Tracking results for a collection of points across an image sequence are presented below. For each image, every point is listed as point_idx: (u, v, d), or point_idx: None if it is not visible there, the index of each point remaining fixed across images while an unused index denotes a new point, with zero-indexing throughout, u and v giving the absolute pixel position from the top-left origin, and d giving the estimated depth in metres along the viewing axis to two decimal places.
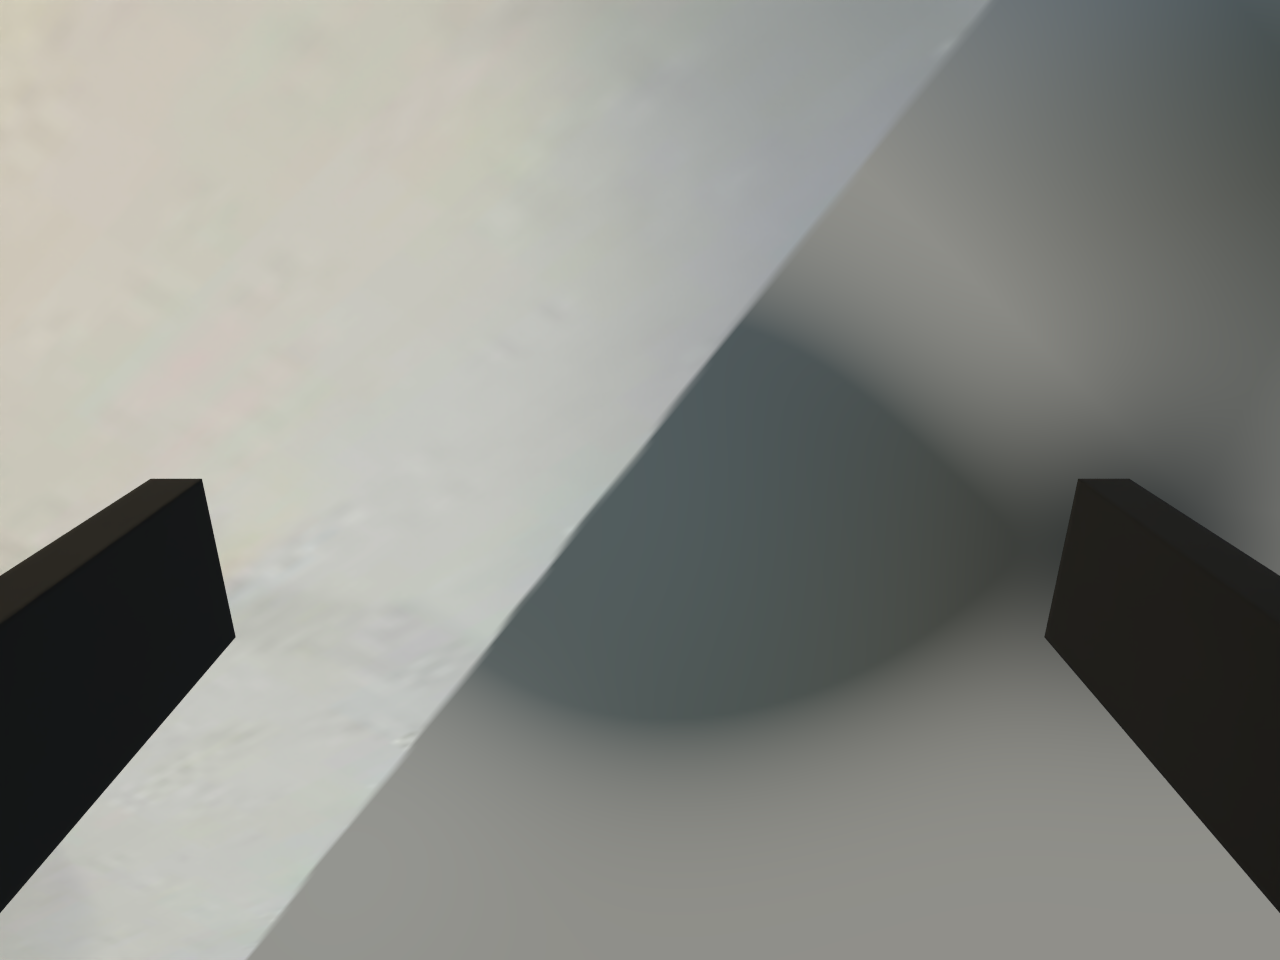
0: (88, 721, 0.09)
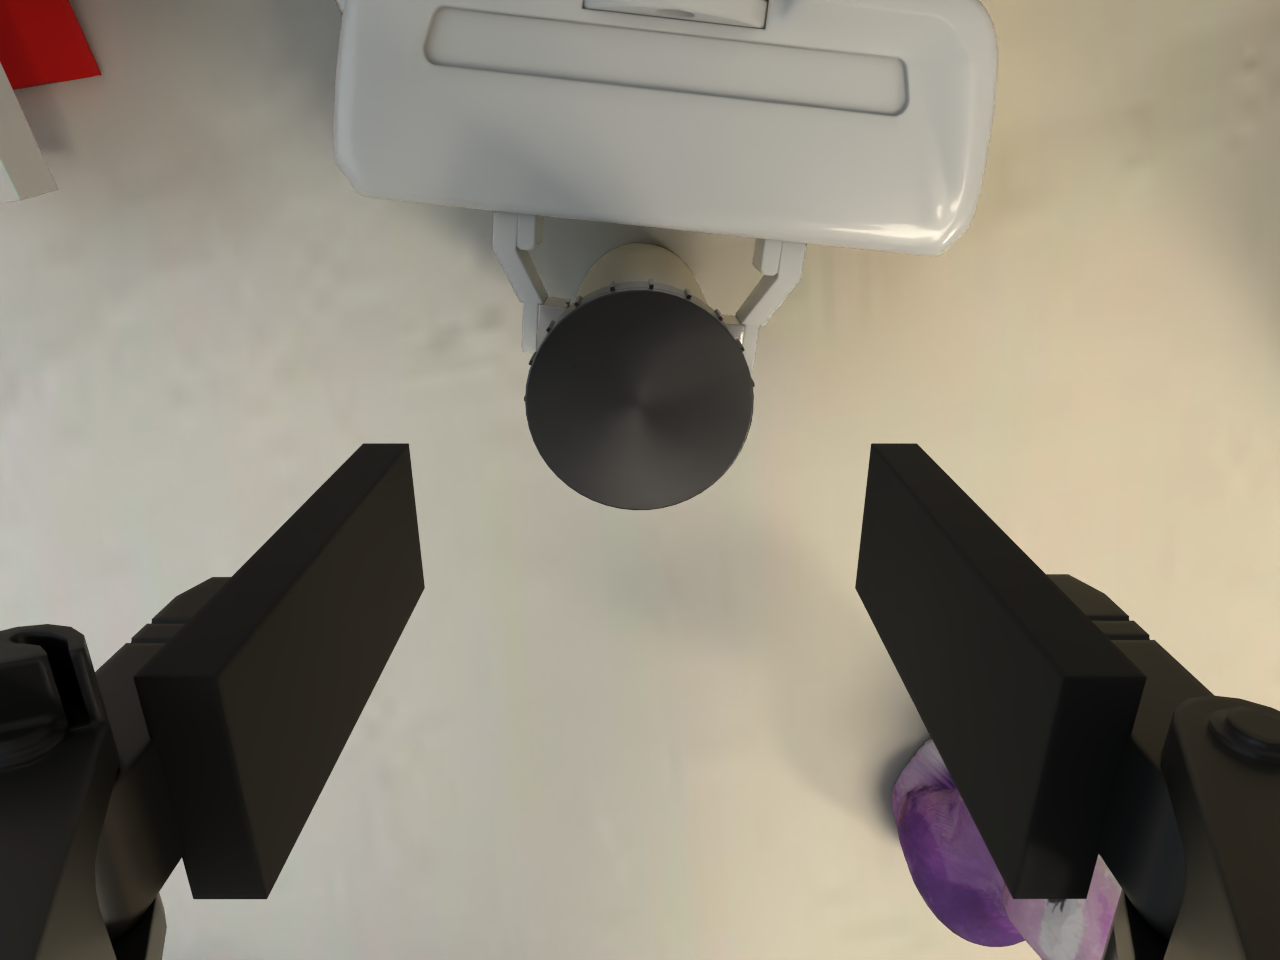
0: (357, 645, 0.11)
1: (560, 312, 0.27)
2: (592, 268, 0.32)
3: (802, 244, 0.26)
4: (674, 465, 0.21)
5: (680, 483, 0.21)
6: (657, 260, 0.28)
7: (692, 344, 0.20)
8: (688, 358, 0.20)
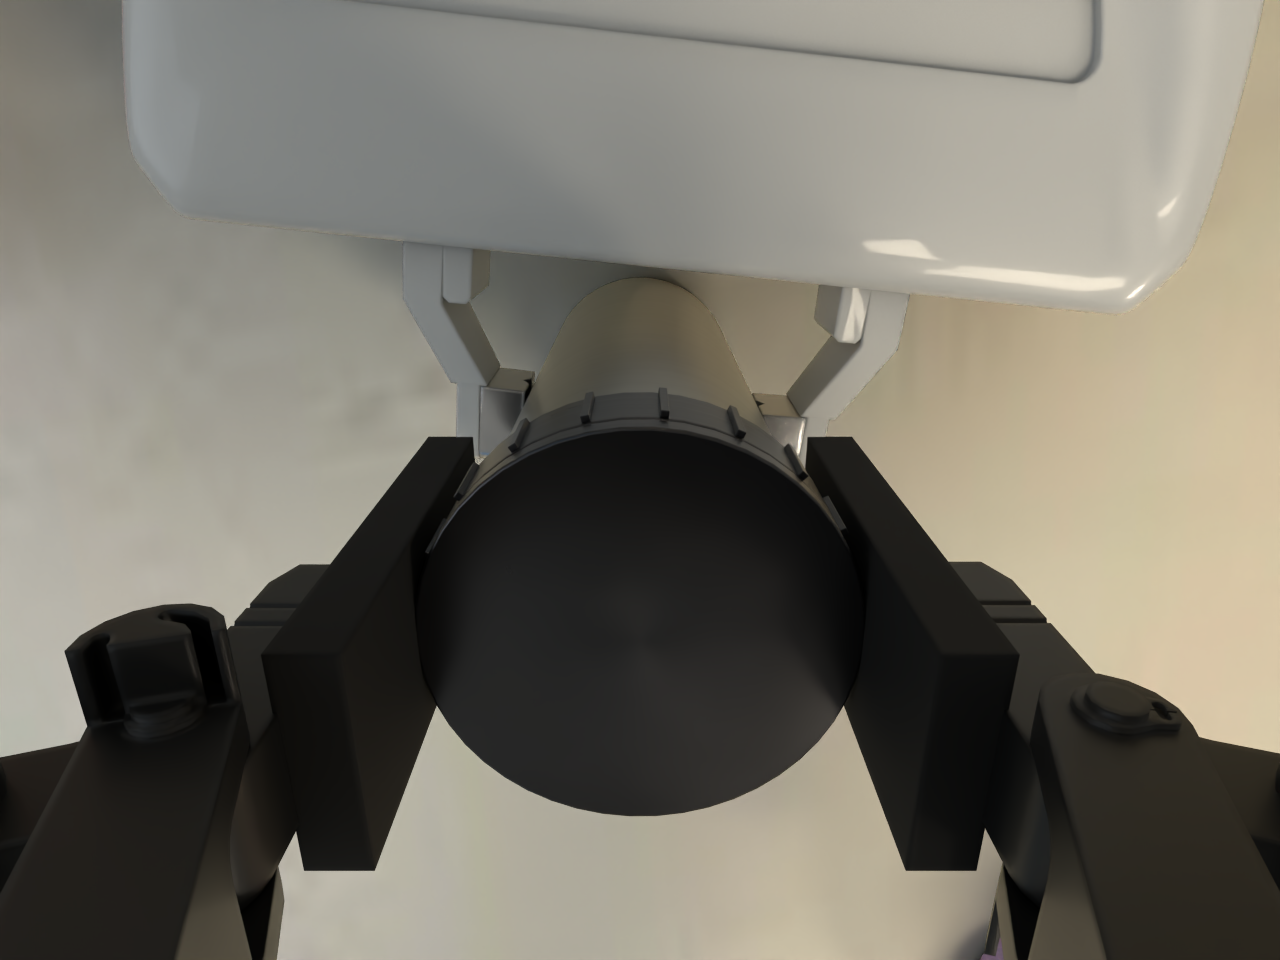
0: None
1: (515, 398, 0.17)
2: (571, 317, 0.22)
3: (903, 294, 0.16)
4: (707, 744, 0.11)
5: (718, 773, 0.11)
6: (668, 314, 0.18)
7: (748, 531, 0.10)
8: (739, 557, 0.10)
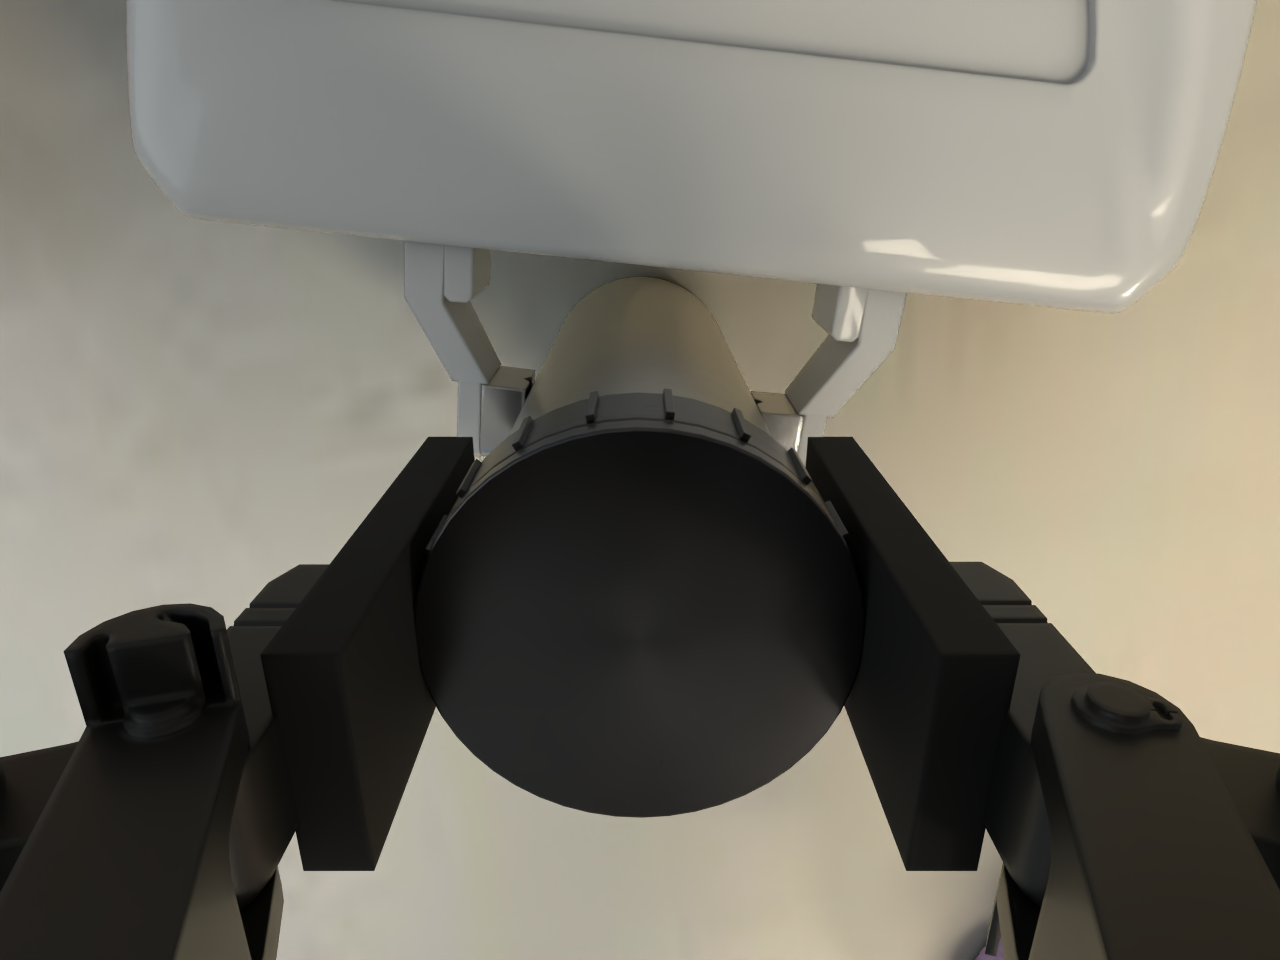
0: None
1: (516, 397, 0.17)
2: (571, 316, 0.22)
3: (899, 293, 0.16)
4: (689, 519, 0.10)
5: (713, 484, 0.09)
6: (667, 313, 0.18)
7: (480, 646, 0.10)
8: (504, 636, 0.10)
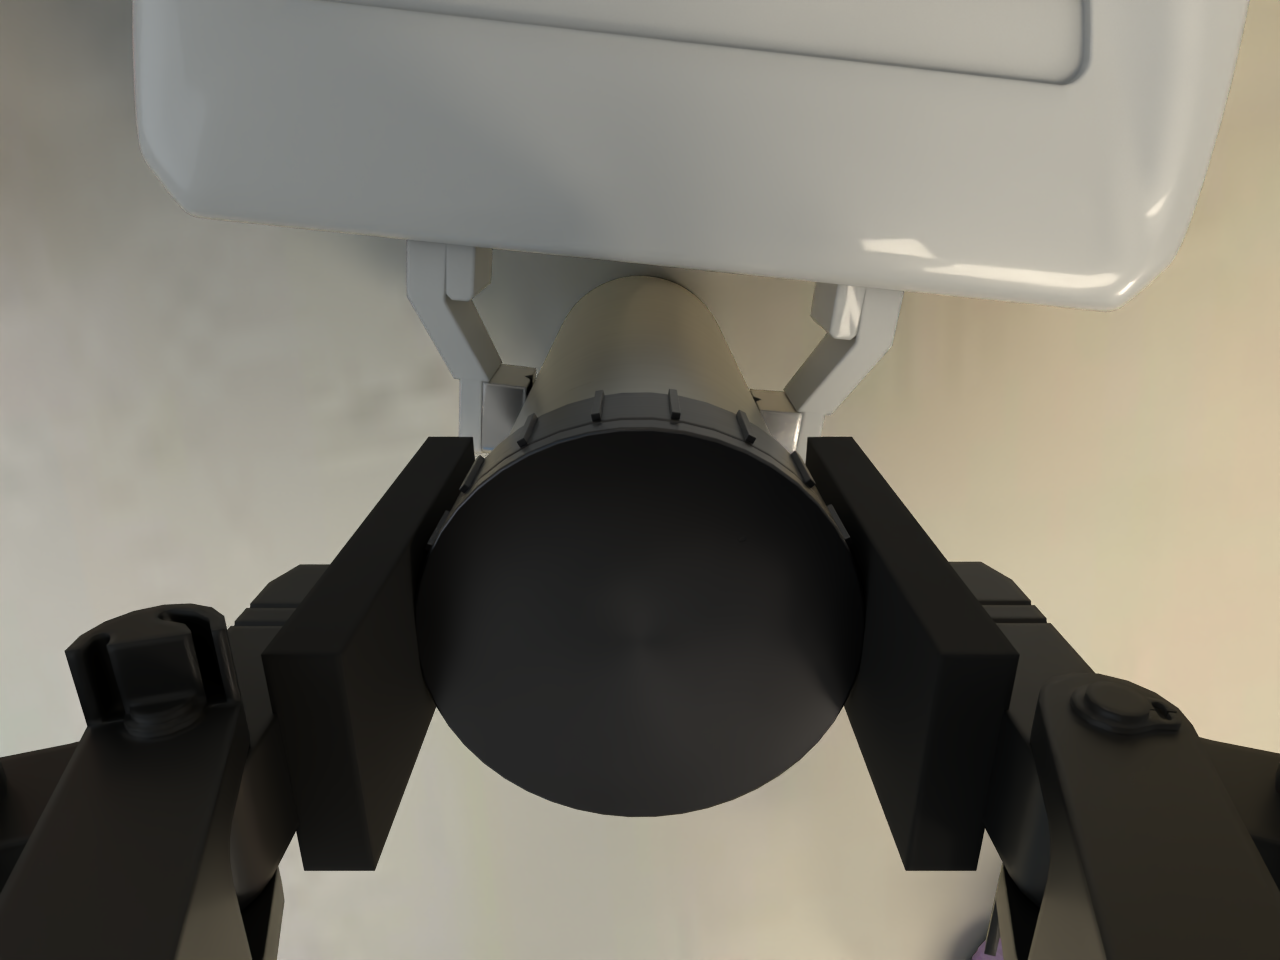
0: None
1: (517, 394, 0.18)
2: (572, 314, 0.22)
3: (897, 291, 0.17)
4: (509, 688, 0.10)
5: (470, 694, 0.11)
6: (667, 311, 0.18)
7: (742, 738, 0.11)
8: (718, 730, 0.11)
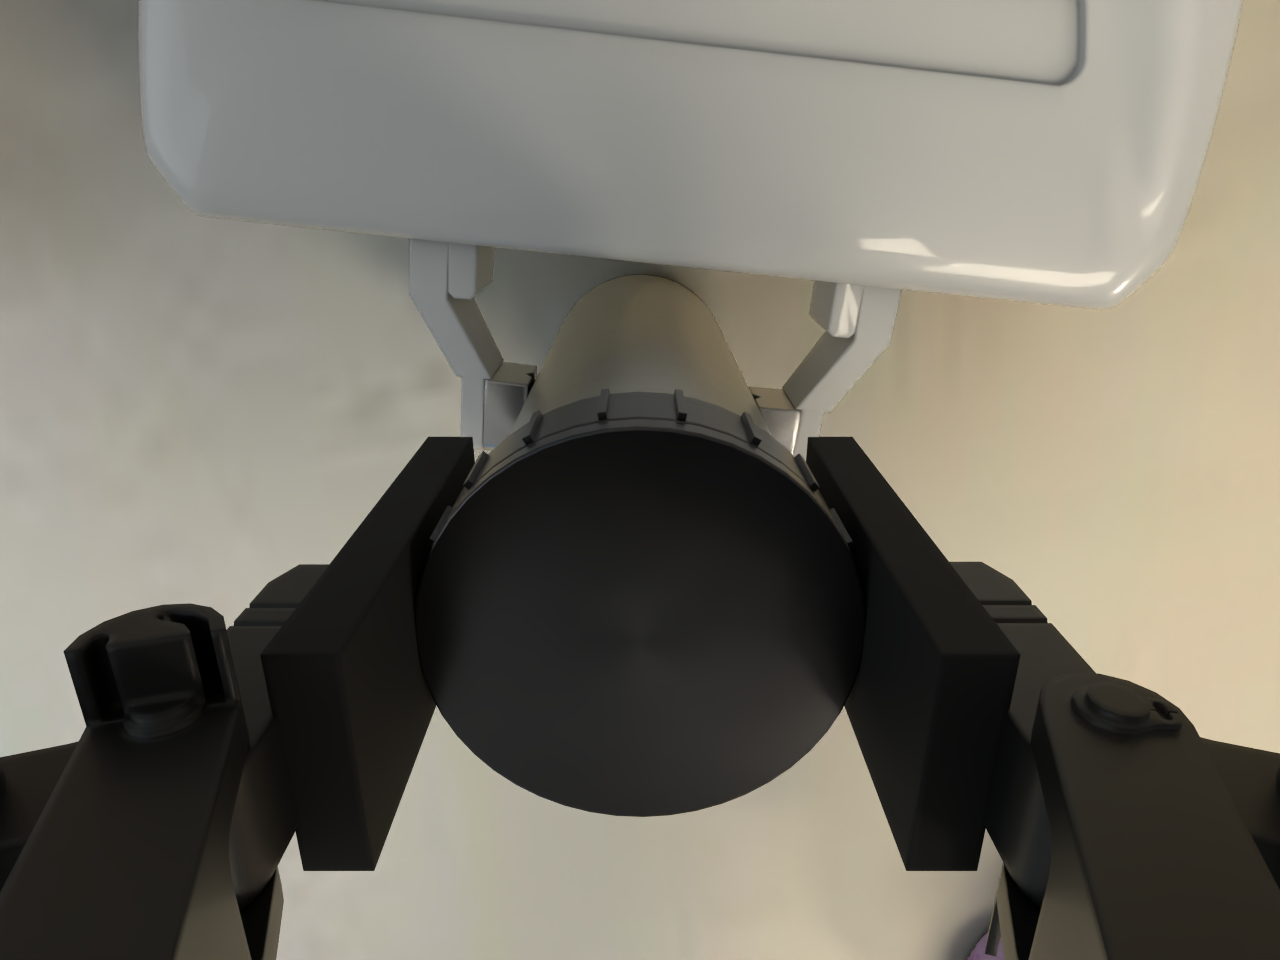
0: None
1: (518, 391, 0.18)
2: (572, 313, 0.22)
3: (895, 290, 0.17)
4: (765, 696, 0.11)
5: (795, 717, 0.11)
6: (667, 309, 0.19)
7: (658, 496, 0.09)
8: (667, 522, 0.10)
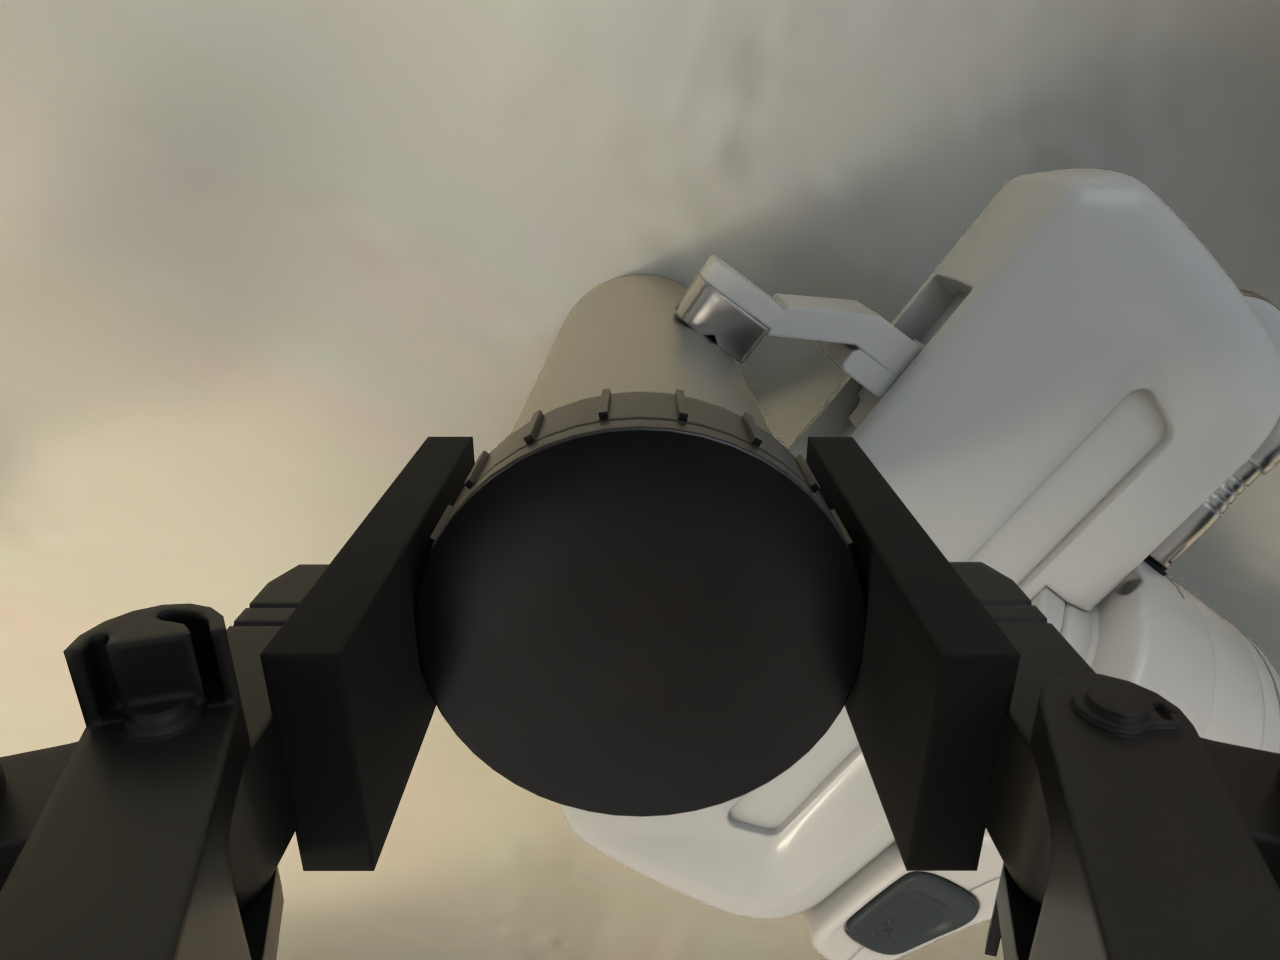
0: None
1: (740, 352, 0.18)
2: None
3: None
4: (765, 697, 0.11)
5: (795, 717, 0.11)
6: None
7: (659, 496, 0.09)
8: (668, 522, 0.10)
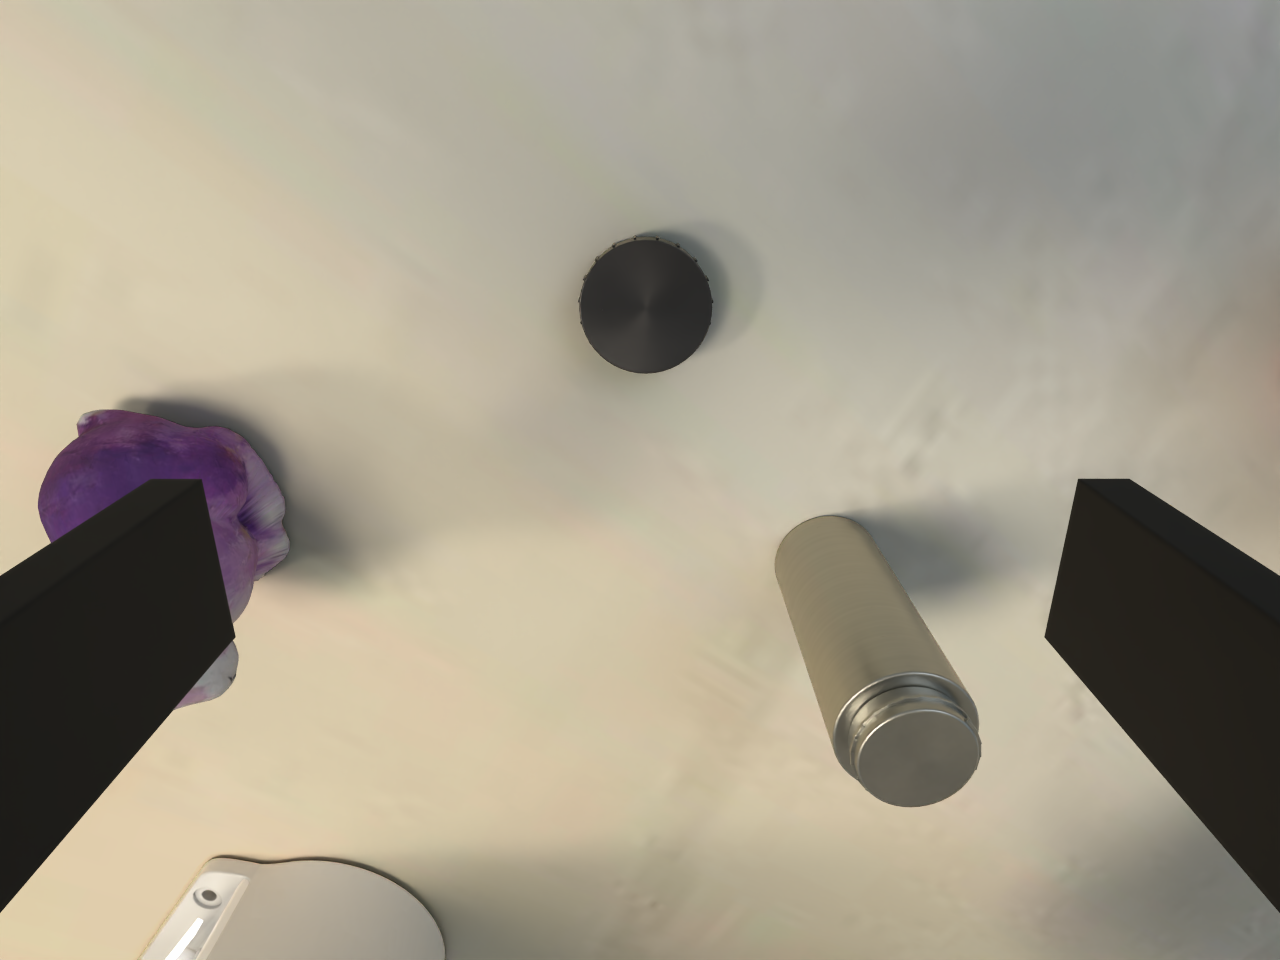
0: (88, 721, 0.09)
1: None
2: None
3: None
4: (683, 327, 0.35)
5: (692, 334, 0.35)
6: None
7: (650, 260, 0.34)
8: (653, 268, 0.34)
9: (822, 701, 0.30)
